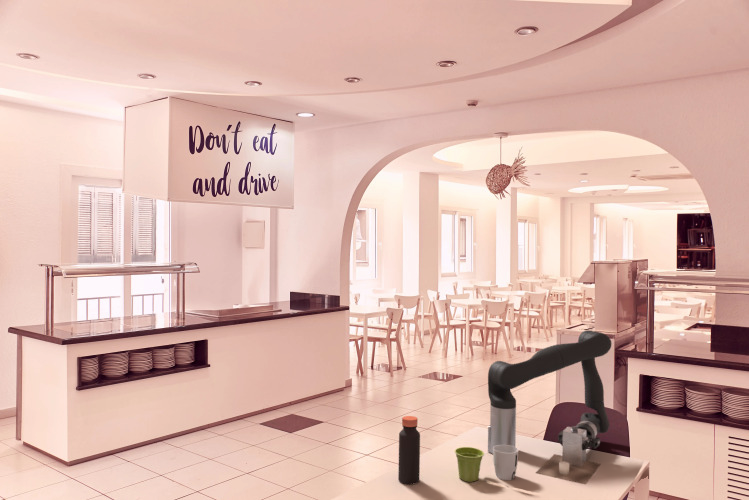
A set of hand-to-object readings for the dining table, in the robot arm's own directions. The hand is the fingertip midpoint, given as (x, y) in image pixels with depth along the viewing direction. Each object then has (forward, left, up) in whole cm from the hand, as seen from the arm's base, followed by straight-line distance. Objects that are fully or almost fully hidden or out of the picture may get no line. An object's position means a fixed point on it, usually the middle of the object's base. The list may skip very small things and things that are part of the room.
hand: (572, 445), depth 197 cm
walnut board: (0, -5, -7) cm, 9 cm away
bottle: (-40, -44, -8) cm, 60 cm away
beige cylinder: (0, -11, -6) cm, 12 cm away
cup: (-15, -25, -8) cm, 30 cm away
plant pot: (-25, -31, -8) cm, 40 cm away
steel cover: (0, +2, -6) cm, 7 cm away
